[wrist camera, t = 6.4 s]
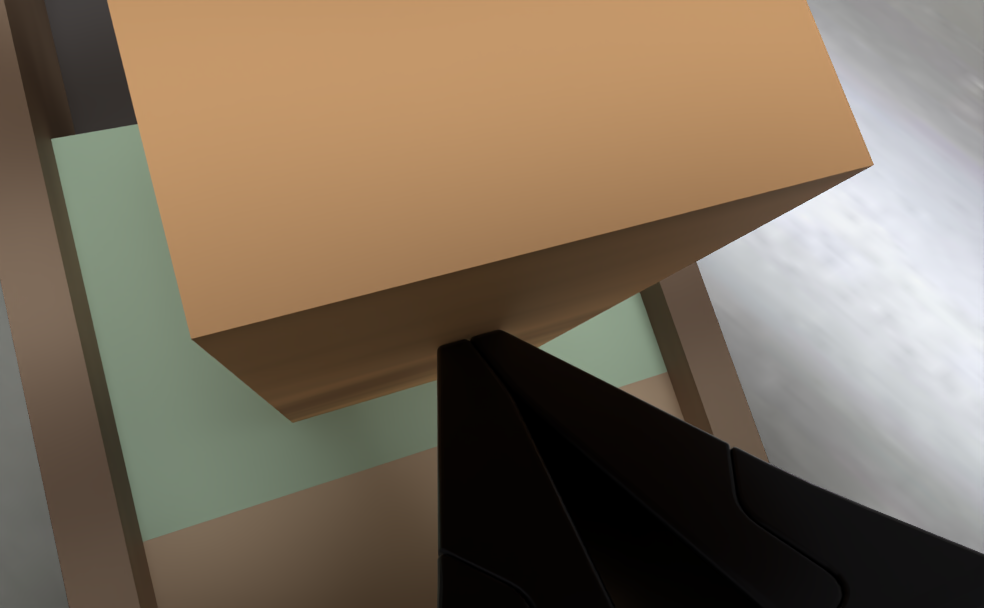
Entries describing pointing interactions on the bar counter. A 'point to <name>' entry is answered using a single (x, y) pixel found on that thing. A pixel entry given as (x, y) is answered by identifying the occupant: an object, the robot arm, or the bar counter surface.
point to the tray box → (90, 419)
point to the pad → (218, 392)
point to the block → (459, 166)
